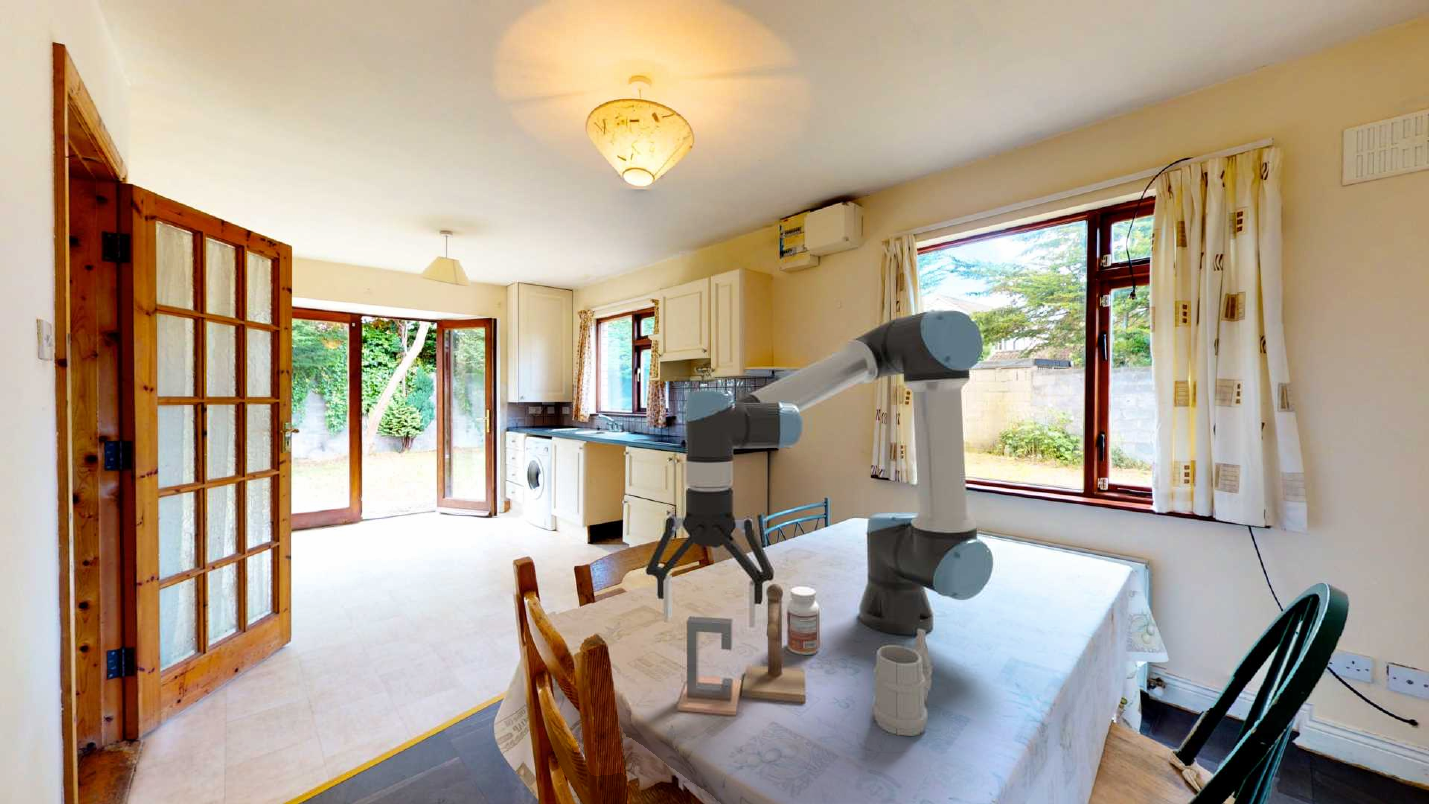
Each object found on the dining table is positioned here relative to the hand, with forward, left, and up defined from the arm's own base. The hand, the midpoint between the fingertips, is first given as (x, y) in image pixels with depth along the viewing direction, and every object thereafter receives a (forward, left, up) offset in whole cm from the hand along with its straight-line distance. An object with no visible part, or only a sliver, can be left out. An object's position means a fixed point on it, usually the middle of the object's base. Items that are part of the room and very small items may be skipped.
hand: (709, 621), depth 83 cm
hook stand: (-10, -2, -12) cm, 16 cm away
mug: (-30, 0, -13) cm, 33 cm away
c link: (0, 0, -12) cm, 12 cm away
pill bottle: (-15, -20, -13) cm, 28 cm away
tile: (0, -1, -12) cm, 12 cm away
